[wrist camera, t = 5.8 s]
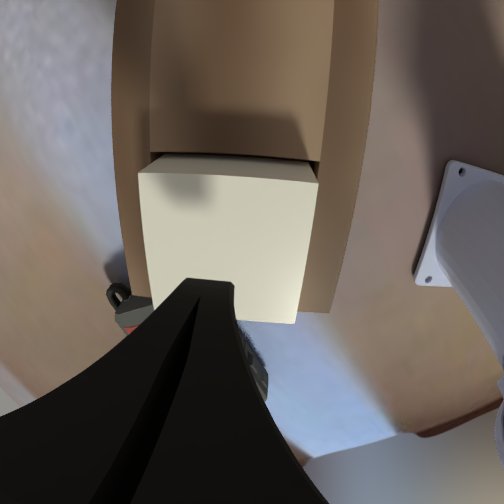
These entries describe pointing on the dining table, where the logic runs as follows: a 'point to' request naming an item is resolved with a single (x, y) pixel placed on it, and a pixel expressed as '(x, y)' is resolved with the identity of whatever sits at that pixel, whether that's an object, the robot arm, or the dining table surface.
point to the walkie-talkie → (141, 307)
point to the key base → (246, 105)
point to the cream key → (230, 228)
